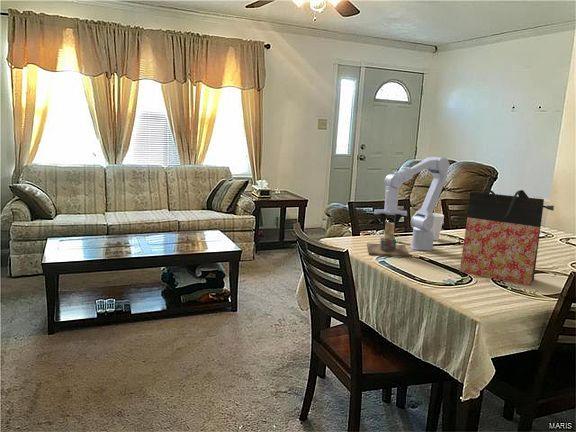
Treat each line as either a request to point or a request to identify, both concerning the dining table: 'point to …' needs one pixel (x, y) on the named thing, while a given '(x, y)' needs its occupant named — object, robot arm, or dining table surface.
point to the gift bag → (502, 236)
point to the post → (389, 231)
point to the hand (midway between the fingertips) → (389, 230)
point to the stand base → (387, 249)
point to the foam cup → (437, 225)
